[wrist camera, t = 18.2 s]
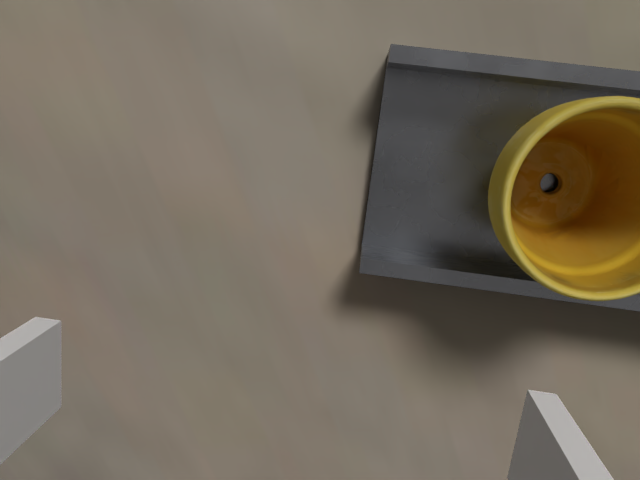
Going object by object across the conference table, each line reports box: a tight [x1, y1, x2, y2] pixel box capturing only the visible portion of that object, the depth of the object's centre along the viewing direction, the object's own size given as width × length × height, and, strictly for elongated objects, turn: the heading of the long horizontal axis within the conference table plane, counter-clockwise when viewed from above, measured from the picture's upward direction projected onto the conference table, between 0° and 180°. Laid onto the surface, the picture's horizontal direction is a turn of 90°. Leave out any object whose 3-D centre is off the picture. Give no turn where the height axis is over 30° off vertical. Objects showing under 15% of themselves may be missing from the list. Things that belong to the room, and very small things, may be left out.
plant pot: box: [488, 96, 640, 301], centre depth 31 cm, size 10×10×10 cm
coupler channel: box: [359, 44, 640, 311], centre depth 34 cm, size 14×24×6 cm, turn 83°
